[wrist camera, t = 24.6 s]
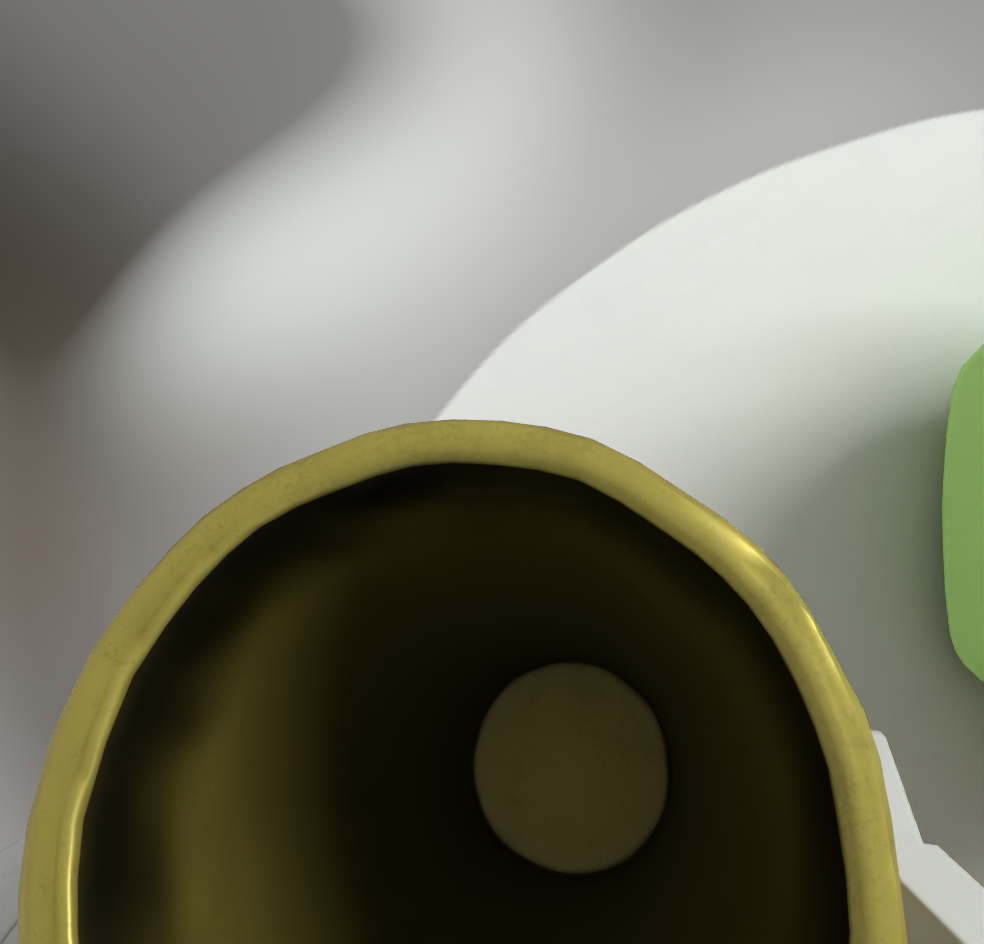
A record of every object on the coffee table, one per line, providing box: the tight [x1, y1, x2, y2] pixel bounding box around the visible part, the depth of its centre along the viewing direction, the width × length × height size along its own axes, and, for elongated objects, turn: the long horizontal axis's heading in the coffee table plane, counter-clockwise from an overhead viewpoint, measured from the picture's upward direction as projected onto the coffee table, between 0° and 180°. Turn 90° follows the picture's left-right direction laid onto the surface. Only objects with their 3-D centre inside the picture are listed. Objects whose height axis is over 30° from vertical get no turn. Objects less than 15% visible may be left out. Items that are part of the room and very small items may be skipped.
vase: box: [18, 420, 908, 944], centre depth 11 cm, size 6×6×14 cm
